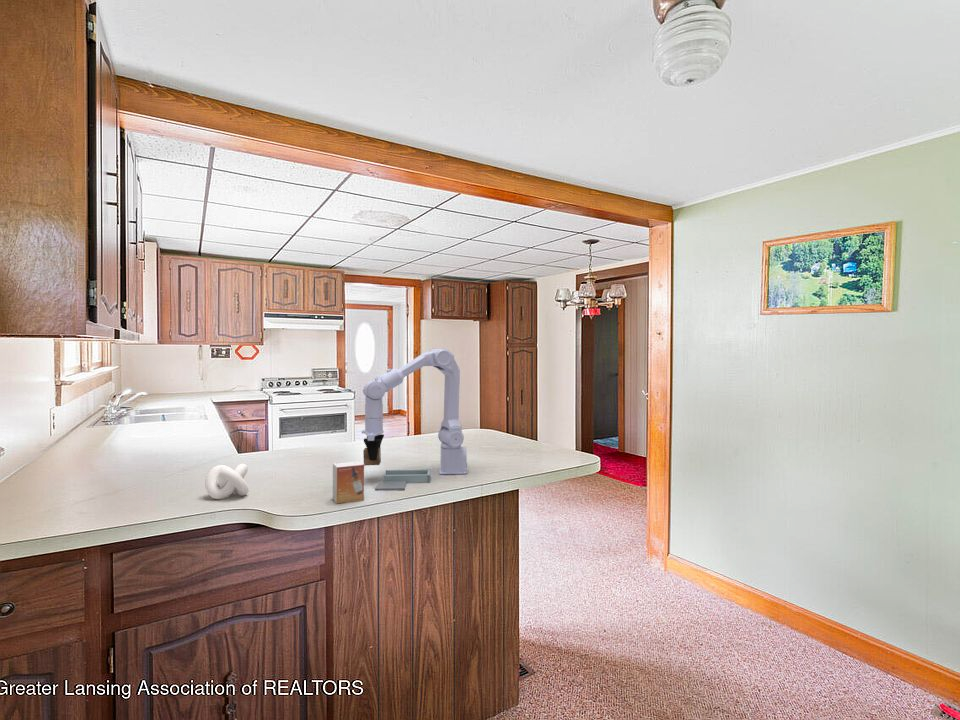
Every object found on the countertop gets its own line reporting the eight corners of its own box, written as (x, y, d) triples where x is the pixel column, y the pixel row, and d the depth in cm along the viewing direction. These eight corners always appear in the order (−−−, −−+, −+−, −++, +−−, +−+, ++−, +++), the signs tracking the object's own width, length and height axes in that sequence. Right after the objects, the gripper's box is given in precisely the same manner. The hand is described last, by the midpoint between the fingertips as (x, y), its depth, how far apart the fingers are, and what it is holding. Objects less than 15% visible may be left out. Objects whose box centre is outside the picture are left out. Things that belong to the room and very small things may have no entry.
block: (380, 462, 165) (380, 447, 165) (379, 465, 161) (378, 449, 161) (365, 462, 165) (365, 447, 165) (363, 465, 161) (363, 450, 161)
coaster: (406, 482, 162) (406, 480, 162) (404, 490, 153) (404, 488, 153) (379, 482, 161) (379, 480, 161) (375, 490, 152) (375, 488, 152)
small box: (336, 504, 139) (336, 467, 139) (332, 498, 144) (332, 463, 144) (364, 500, 143) (364, 464, 142) (359, 495, 148) (359, 460, 147)
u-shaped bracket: (430, 476, 168) (430, 469, 168) (429, 482, 161) (429, 475, 161) (385, 477, 167) (385, 470, 167) (383, 483, 160) (383, 475, 160)
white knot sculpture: (261, 494, 148) (261, 464, 148) (222, 505, 138) (222, 473, 137) (239, 488, 154) (239, 459, 154) (200, 498, 144) (200, 467, 144)
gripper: (365, 414, 170) (365, 453, 170) (357, 421, 155) (358, 463, 156) (385, 414, 170) (386, 453, 171) (380, 420, 156) (380, 463, 156)
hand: (374, 458), depth 163 cm, fingers closed on block, 4 cm apart
